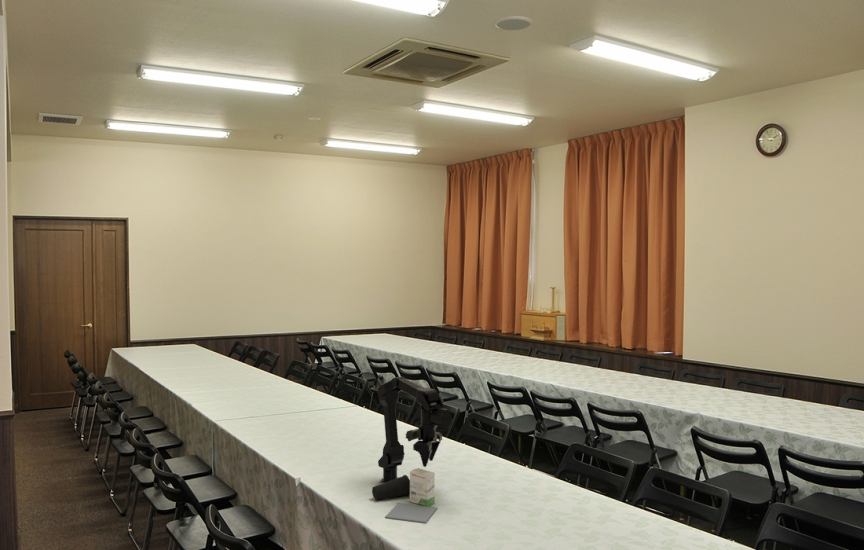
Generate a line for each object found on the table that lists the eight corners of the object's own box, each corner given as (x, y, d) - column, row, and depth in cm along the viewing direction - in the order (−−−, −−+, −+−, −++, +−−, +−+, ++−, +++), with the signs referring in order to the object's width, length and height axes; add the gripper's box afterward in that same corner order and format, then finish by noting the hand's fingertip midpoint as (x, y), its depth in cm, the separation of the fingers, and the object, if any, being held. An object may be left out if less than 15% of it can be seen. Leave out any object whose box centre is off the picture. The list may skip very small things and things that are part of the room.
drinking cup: (370, 480, 242) (416, 468, 252) (371, 499, 243) (417, 487, 252) (378, 486, 236) (425, 474, 245) (379, 506, 236) (426, 494, 246)
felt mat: (398, 504, 235) (398, 502, 235) (437, 508, 231) (437, 507, 231) (384, 518, 222) (384, 516, 222) (426, 523, 217) (426, 521, 217)
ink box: (435, 503, 236) (435, 471, 236) (426, 507, 232) (427, 475, 232) (417, 498, 242) (417, 467, 242) (409, 501, 238) (409, 470, 238)
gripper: (416, 416, 255) (415, 455, 255) (400, 426, 237) (399, 468, 237) (442, 418, 252) (442, 457, 252) (428, 429, 234) (428, 471, 234)
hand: (427, 463), depth 244 cm, fingers open, 8 cm apart
